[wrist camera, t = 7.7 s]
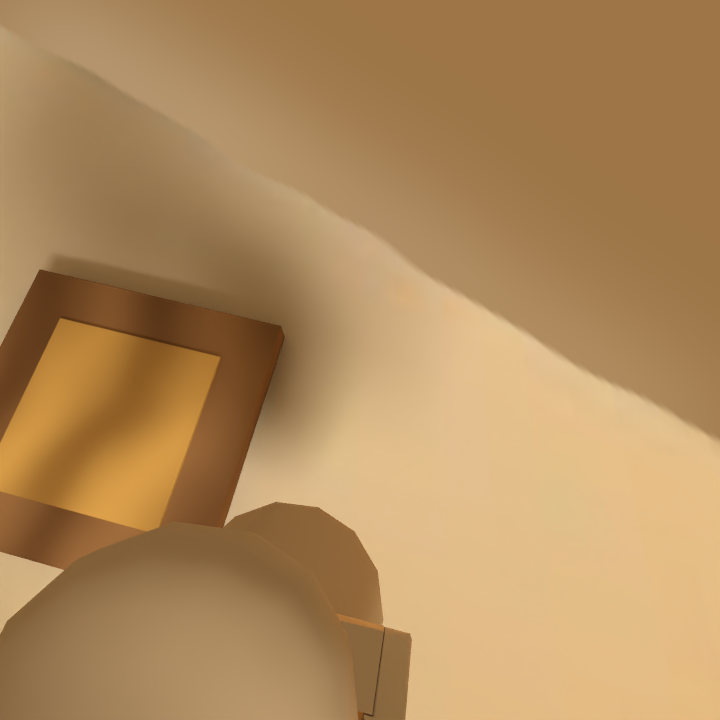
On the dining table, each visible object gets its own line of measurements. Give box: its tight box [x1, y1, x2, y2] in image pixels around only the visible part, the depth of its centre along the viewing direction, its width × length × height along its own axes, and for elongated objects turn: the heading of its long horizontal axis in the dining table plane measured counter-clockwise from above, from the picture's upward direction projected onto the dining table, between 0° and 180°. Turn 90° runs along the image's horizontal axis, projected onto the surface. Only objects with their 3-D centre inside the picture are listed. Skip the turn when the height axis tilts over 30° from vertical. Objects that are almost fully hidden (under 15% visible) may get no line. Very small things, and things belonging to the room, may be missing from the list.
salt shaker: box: [0, 502, 383, 720], centre depth 11 cm, size 6×6×13 cm
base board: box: [0, 270, 284, 570], centre depth 27 cm, size 14×14×2 cm
